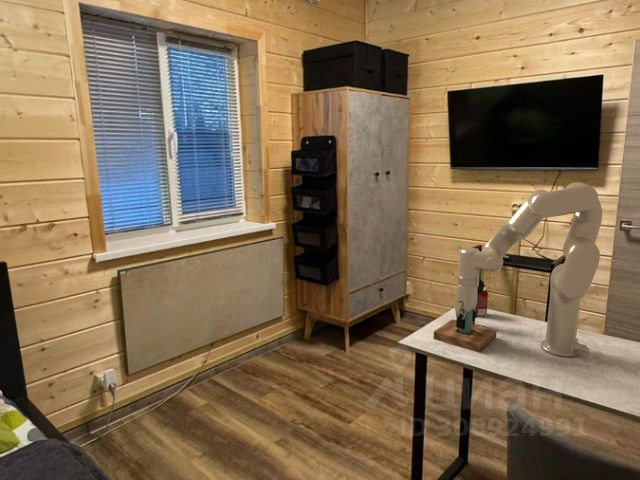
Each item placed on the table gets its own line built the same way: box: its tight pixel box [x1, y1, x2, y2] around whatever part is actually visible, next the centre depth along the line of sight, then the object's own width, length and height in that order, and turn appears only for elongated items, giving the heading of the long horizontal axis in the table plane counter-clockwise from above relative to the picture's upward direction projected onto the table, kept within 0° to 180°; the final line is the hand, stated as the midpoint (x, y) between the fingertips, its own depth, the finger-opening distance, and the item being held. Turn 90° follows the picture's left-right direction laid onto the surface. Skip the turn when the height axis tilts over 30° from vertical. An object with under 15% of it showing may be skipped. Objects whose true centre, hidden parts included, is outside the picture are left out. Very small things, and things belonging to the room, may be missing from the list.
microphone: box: [472, 278, 486, 325], centre depth 185 cm, size 7×7×20 cm
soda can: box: [477, 287, 489, 318], centre depth 196 cm, size 7×7×12 cm
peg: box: [459, 309, 473, 336], centre depth 173 cm, size 4×4×12 cm
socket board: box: [433, 318, 498, 353], centre depth 174 cm, size 18×16×3 cm
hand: (465, 324), depth 173 cm, fingers open, 8 cm apart
